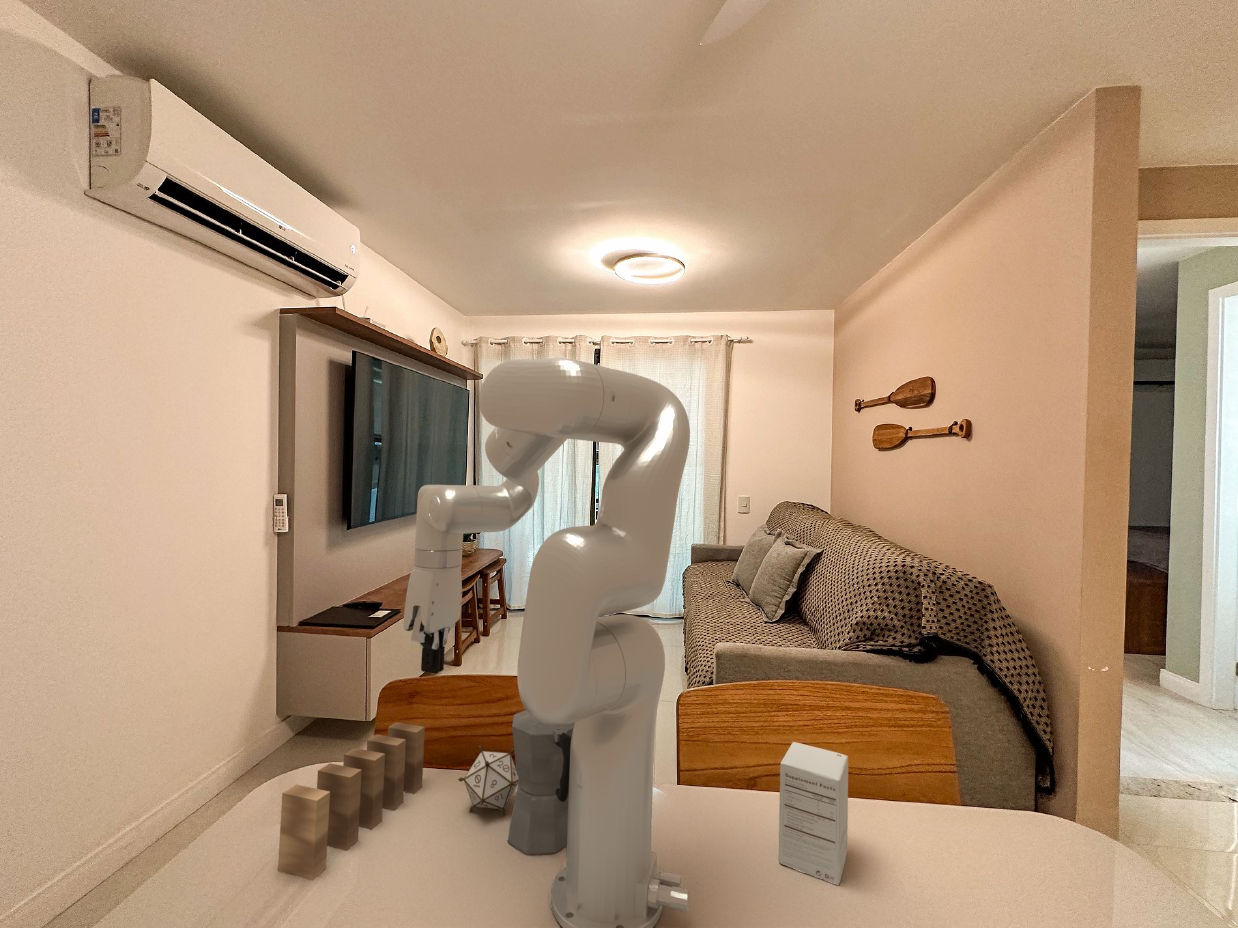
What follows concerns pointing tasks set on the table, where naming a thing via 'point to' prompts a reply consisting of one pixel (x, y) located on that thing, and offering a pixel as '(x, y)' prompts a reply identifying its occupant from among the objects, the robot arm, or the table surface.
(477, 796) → the game die
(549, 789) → the coffeepot
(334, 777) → the domino
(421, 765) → the domino
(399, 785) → the domino
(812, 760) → the supplement box
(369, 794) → the domino
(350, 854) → the table surface
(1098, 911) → the table surface
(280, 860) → the domino
